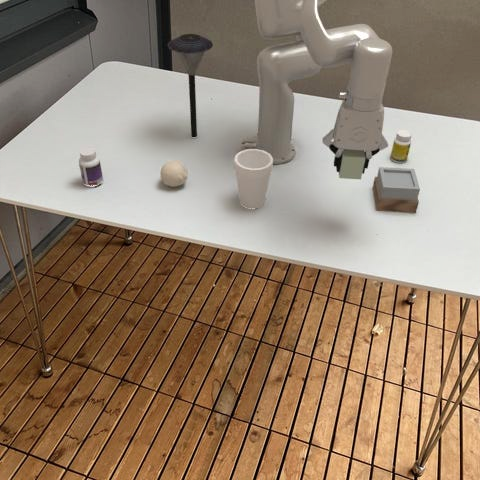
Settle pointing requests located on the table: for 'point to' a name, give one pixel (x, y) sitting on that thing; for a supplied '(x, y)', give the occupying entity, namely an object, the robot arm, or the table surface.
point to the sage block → (352, 164)
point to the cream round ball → (173, 173)
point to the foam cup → (253, 176)
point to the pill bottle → (90, 167)
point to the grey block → (398, 183)
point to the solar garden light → (191, 65)
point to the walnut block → (393, 202)
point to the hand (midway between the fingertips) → (349, 168)
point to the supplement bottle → (401, 146)
